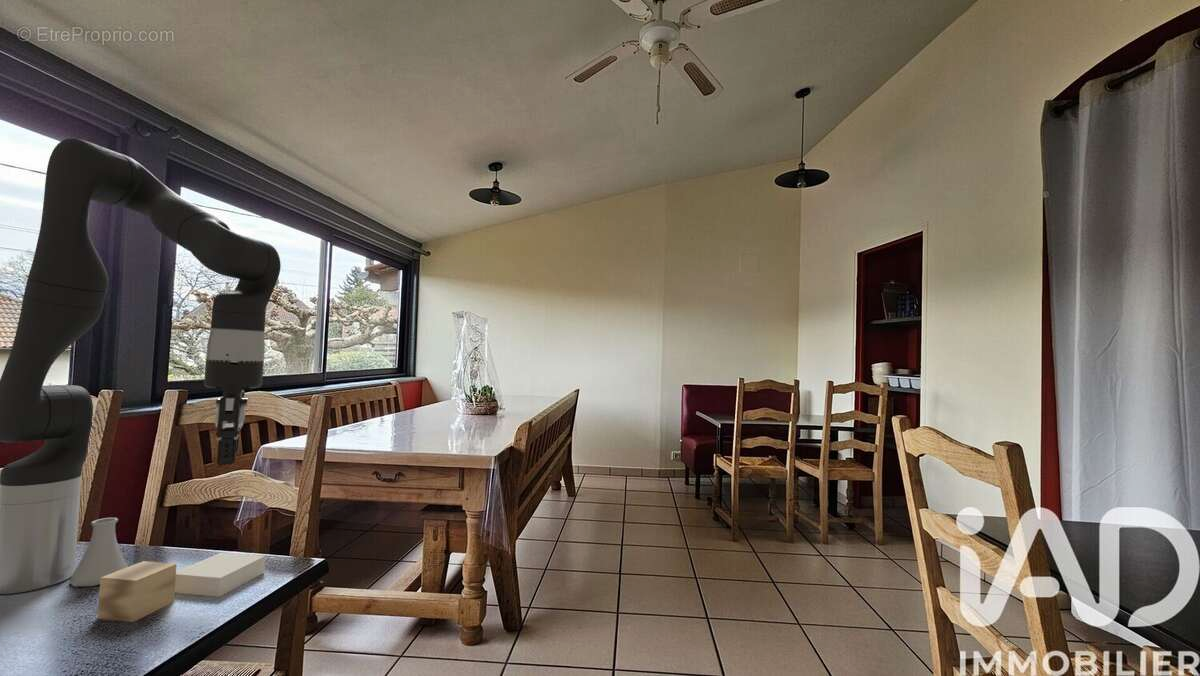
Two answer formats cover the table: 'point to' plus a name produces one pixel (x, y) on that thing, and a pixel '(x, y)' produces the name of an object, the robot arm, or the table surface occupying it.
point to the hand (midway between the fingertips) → (227, 458)
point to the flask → (99, 555)
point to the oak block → (136, 591)
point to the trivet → (218, 574)
